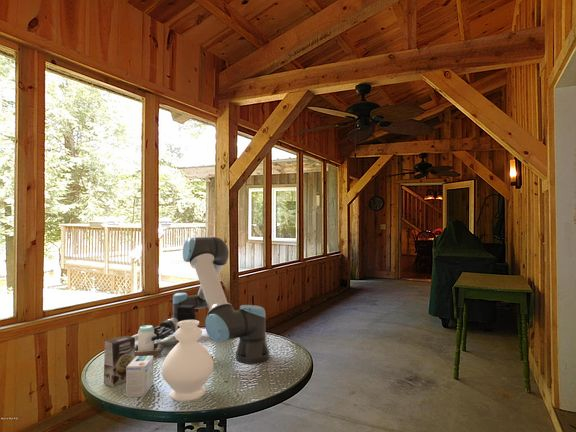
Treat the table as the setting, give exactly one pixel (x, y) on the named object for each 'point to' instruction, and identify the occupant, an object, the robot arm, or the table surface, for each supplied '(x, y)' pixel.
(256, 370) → the table surface
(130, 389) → the light bulb box
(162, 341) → the dock pad
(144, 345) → the can
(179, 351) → the decorative vase
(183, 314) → the portable radio
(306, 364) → the table surface
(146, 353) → the frame
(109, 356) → the coffee box
